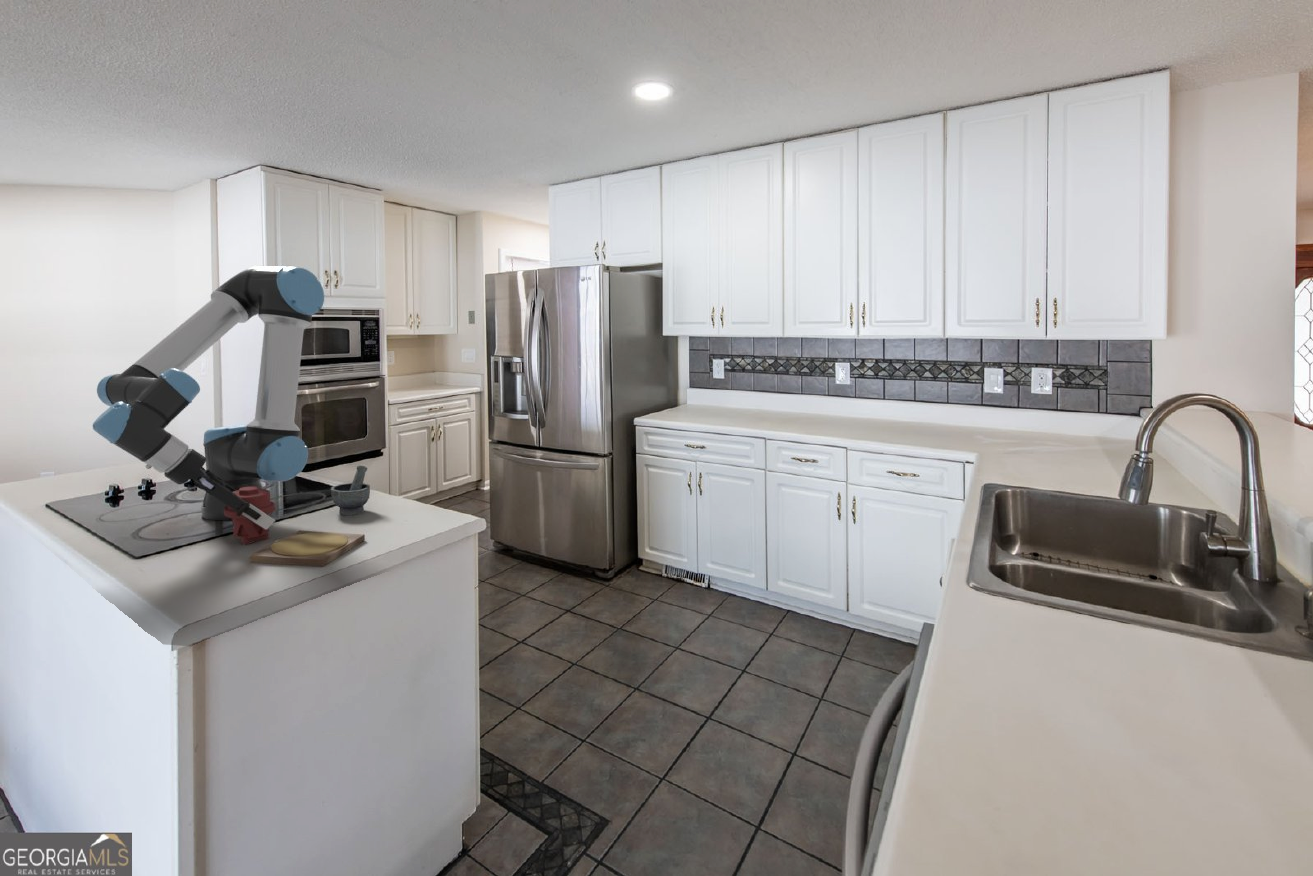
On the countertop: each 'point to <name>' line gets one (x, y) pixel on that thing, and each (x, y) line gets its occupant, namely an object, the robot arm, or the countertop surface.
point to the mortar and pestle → (352, 494)
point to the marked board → (307, 548)
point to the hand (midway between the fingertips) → (265, 519)
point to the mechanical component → (245, 526)
